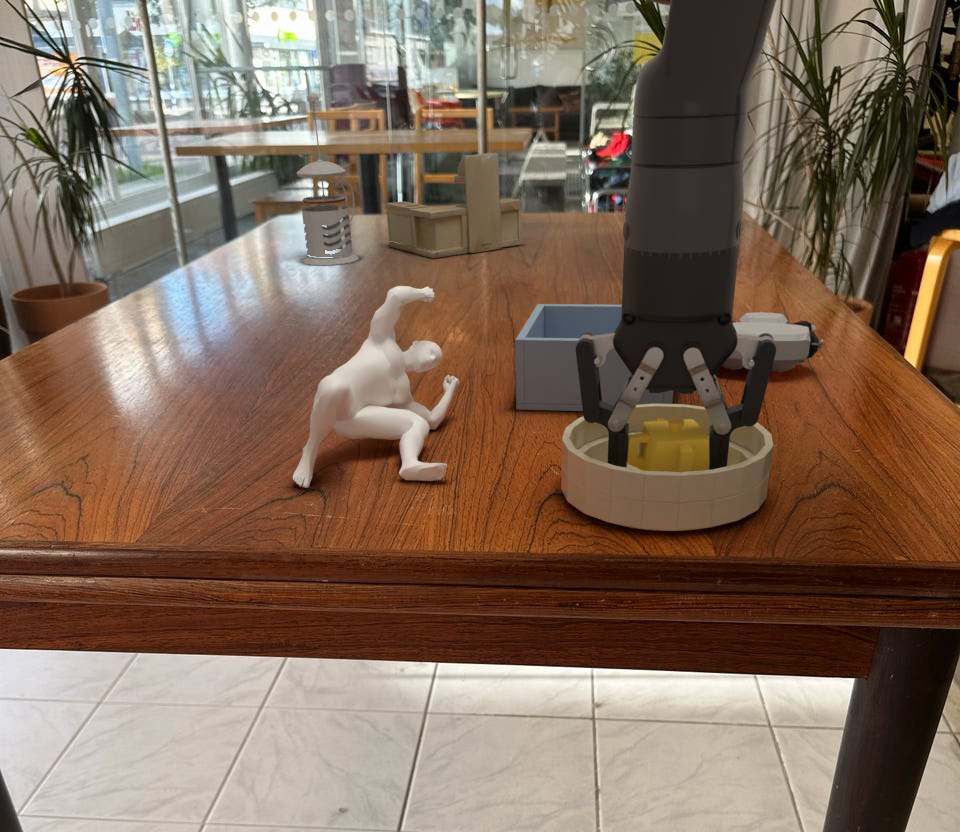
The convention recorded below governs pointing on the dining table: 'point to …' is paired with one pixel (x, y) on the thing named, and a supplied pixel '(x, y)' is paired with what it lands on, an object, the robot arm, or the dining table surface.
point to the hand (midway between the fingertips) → (665, 475)
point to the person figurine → (381, 394)
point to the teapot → (669, 446)
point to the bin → (568, 358)
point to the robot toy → (778, 339)
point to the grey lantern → (326, 215)
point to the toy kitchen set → (460, 216)
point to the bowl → (664, 476)
